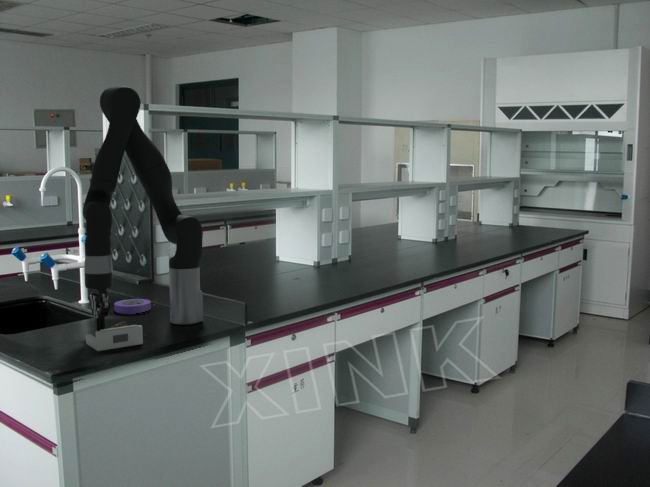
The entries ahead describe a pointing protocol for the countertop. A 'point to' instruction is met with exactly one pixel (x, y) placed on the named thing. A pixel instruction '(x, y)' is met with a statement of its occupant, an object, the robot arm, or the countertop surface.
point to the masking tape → (132, 306)
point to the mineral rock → (119, 325)
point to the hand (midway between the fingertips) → (100, 330)
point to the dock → (116, 337)
